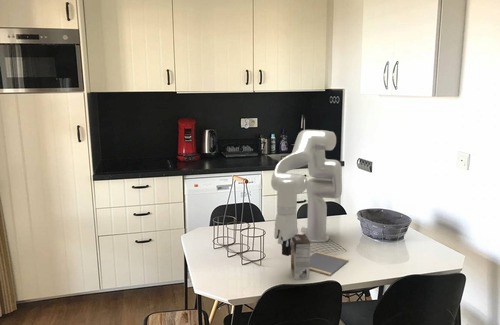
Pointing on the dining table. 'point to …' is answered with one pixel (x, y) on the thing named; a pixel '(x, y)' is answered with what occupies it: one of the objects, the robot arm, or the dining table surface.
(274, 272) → the dining table surface
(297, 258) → the coffee box
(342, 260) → the mat
